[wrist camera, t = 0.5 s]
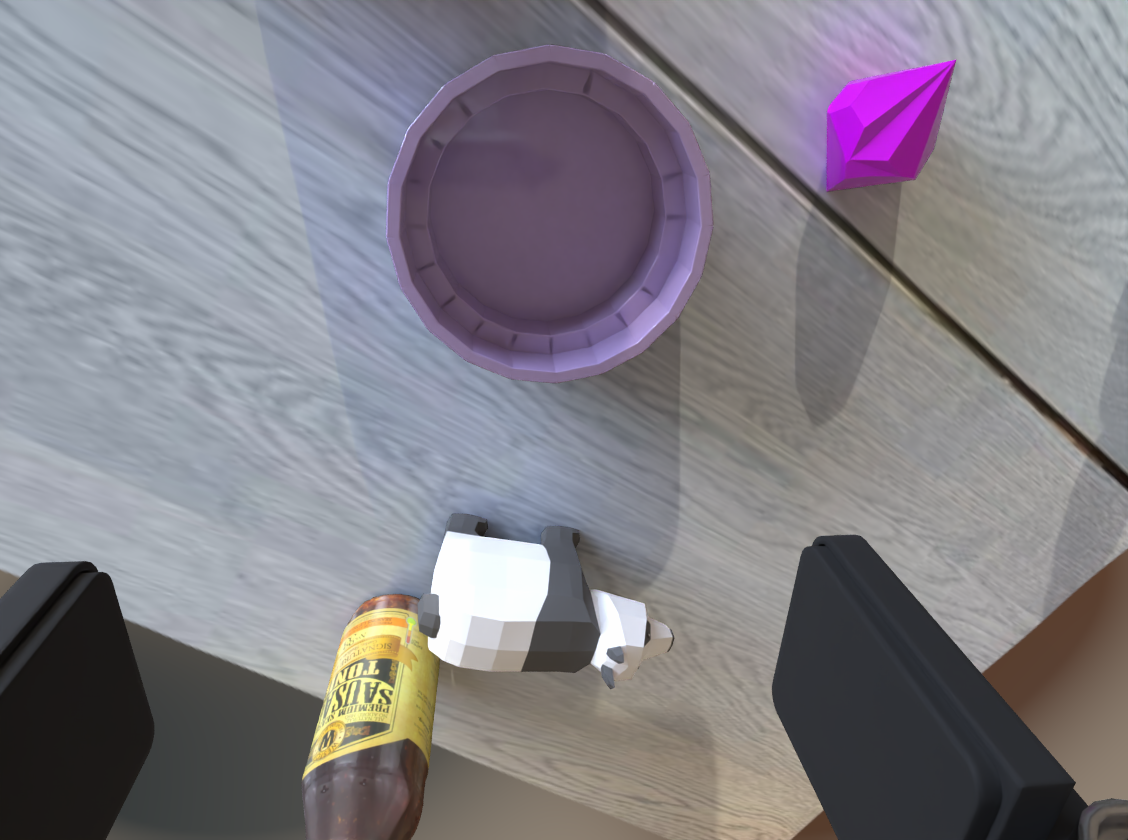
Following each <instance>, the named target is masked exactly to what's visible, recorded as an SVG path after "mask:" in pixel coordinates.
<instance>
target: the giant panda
mask: <svg viewBox="0 0 1128 840" xmlns="http://www.w3.org/2000/svg"><path fill="white" fill-rule="evenodd" d="M487 529H488V524H487V519H484V518H482V517H478V516H473V515H469V514H452V515H451V517H450V518H449V520H448V521H447V525H446V530H445V534H444V541H443V544H442V547H441V551H440V554H439V557H438V560H437V563H436V567H435V570H434V575H433V582H432V589H431V594H423V595H422V597H421V599H420V601H419V602H418V625H419V632H421V633H423V634H425V635H426V636H428V648H429V650H430V651H431V652H433V653H434V654H435V655H437V656H438V657H439V658H441V659H442V660H443V661H445V662H448V663H450V664H453V665H455V666H458V667H462V668H469V669H476V670H483V671H490V672H569V673H576V672H577V671H579V670H580V669H582V668H584V667H585V666H587V665H589V664H592V665H593V666H594V667H595V668H596V669H598V670H599V671H600V672H601V674H602V678H603V680H604V681H605V683H606V684H607V686H608V687H609V688H610V689H612V688H615V686H614V681H621V680H631V679H632V677H633V676H634V674H635V672H636V670H637V669H639V665H640V664H641V662H642V660H645V659H648V658H651V657H654V656H657V655H660V654H663V653H666V652H669V650H670V648H671V647H672V645H673V641H674V635H673V633H672V630H671V629H669V628H668V627H667V626H666V625H665V624H663V623H661V622H659V621H657V620H654V619H652V618H650V617H648V613H647V610H646V606H645V604H644V603H641V602H638V601H634V600H631V599H627V598H624V597H621V596H617V595H614V594H611V593H607V592H604V591H600V590H597V589H589V587H588V585H587V583H586V580H585V577H584V574H583V571H582V568H581V565H580V562H579V559H578V555H577V552H576V550H575V548H576V546H577V545H578V543H579V542H580V533H579V530H576V529H573V528H568V527H562V526H548V527H546V528H545V529H544V531H543V532H542V533H541V545H540V544H533V543H526V542H519V541H512V540H505V539H497V538H489V537H483V536H484V534H485V532H486V531H487Z"/></svg>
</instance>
